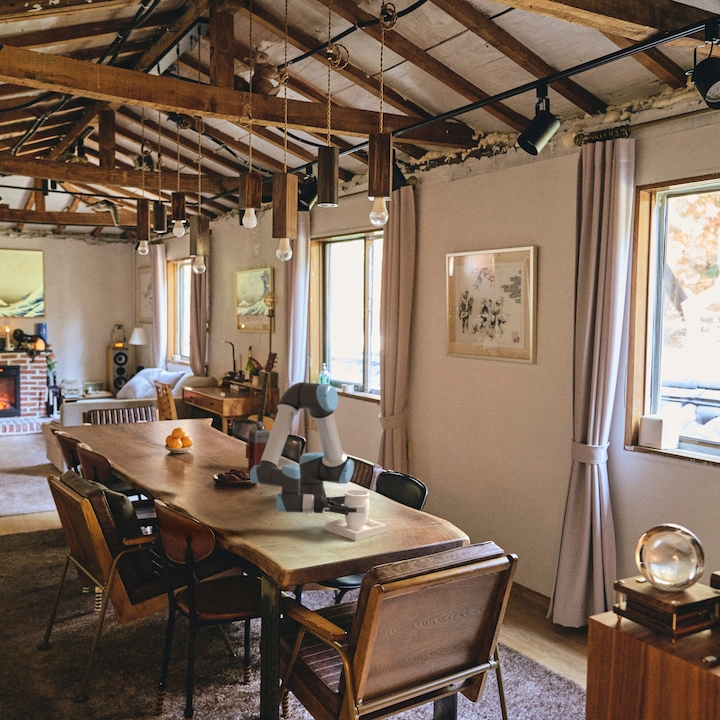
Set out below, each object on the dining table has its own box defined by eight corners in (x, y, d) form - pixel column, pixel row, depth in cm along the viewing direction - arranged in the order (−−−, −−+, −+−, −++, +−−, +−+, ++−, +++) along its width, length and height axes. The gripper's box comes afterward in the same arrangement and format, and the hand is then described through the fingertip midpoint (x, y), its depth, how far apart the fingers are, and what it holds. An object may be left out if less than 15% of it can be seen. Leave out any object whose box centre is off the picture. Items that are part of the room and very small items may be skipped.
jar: (371, 526, 295) (372, 491, 295) (364, 533, 285) (366, 496, 285) (347, 523, 298) (348, 488, 298) (339, 530, 288) (341, 494, 288)
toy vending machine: (244, 470, 397) (245, 421, 396) (262, 468, 404) (263, 420, 402) (251, 473, 390) (252, 423, 388) (269, 471, 396) (270, 422, 395)
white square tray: (356, 522, 305) (356, 515, 304) (386, 532, 292) (387, 524, 292) (325, 530, 292) (325, 522, 292) (355, 541, 279) (355, 533, 279)
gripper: (315, 504, 304) (364, 506, 304) (311, 521, 279) (364, 523, 279) (316, 487, 304) (365, 489, 303) (311, 502, 279) (365, 504, 279)
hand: (365, 505), depth 291 cm, fingers open, 13 cm apart
